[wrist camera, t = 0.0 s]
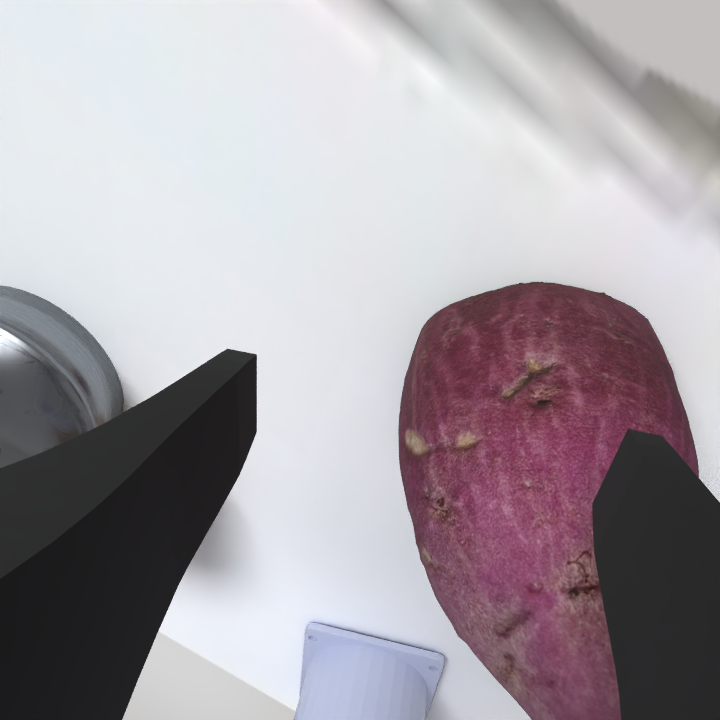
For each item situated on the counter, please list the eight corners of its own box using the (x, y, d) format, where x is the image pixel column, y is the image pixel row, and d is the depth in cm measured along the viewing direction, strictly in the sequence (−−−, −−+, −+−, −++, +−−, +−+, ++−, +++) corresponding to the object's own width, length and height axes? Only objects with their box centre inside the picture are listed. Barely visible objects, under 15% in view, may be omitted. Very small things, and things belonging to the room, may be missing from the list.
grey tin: (140, 463, 30) (107, 508, 27) (-29, 426, 31) (-75, 465, 28) (114, 300, 24) (71, 337, 22) (-89, 261, 25) (-152, 292, 23)
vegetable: (691, 363, 24) (1062, 803, 12) (495, 494, 28) (634, 916, 17) (542, 201, 19) (922, 675, 8) (331, 388, 24) (363, 880, 12)
